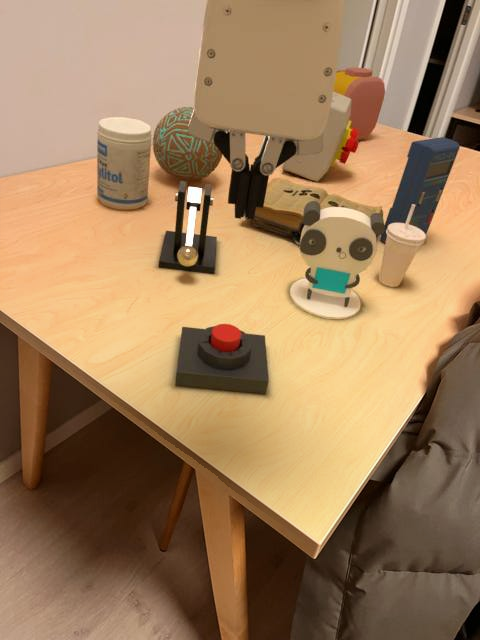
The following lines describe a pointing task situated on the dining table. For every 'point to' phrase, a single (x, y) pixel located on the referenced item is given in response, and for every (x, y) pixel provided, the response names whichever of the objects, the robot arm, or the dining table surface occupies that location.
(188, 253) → the lever
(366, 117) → the alarm clock
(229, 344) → the stop button
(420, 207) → the electronic device
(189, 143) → the decorative sphere
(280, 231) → the book
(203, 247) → the switch bracket
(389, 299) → the dining table surface
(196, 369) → the push button box
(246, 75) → the robot arm
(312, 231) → the panda figurine
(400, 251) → the smoothie
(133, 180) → the supplement tub
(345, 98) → the electrical switch box
